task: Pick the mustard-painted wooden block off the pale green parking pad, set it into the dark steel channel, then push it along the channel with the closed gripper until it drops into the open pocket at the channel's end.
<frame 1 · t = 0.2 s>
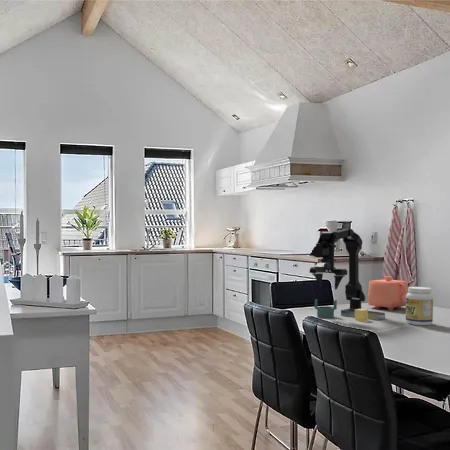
hand: (327, 288, 296), 14 cm above the table, fingers open, 9 cm apart
bracket: (325, 318, 297), on the table
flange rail: (364, 318, 297), on the table
supplement tub: (419, 324, 283), on the table
parking pad: (361, 321, 287), on the table
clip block: (361, 320, 287), point 1 cm above the table, touching parking pad
teapot: (391, 308, 338), on the table
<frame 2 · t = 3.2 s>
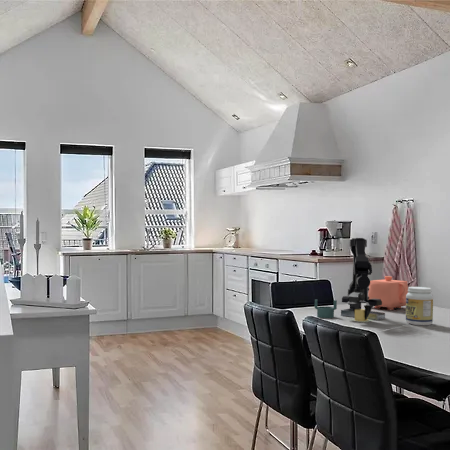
hand: (361, 318, 287), 1 cm above the table, fingers closed on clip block, 4 cm apart
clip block: (361, 320, 287), point 1 cm above the table, touching gripper, parking pad
everything else where it was.
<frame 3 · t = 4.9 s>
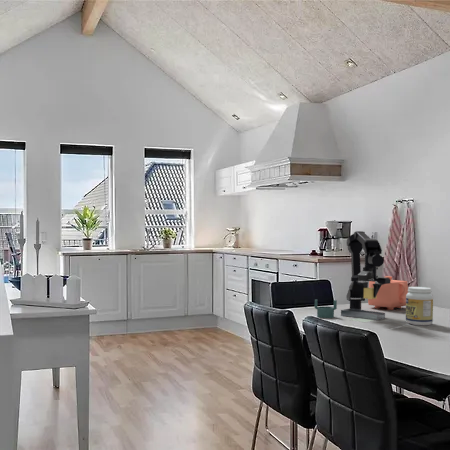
hand: (370, 297, 295), 11 cm above the table, fingers closed on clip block, 4 cm apart
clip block: (370, 298, 295), point 10 cm above the table, touching gripper
everything else where it was.
when the fingers open (4 cm above the table, at t = 6.8 s): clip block drops 1 cm, resting on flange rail.
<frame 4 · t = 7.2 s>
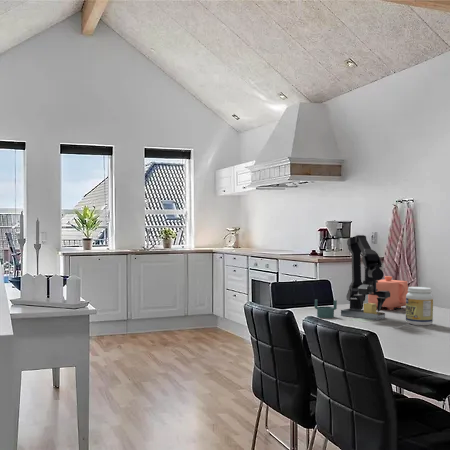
hand: (370, 310, 295), 4 cm above the table, fingers open, 9 cm apart
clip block: (369, 313, 295), point 2 cm above the table, touching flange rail
everything else where it was.
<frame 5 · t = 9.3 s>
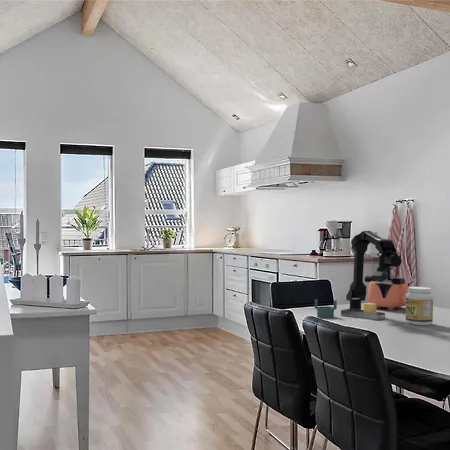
hand: (384, 298, 290), 11 cm above the table, fingers closed
nothing on the table moved.
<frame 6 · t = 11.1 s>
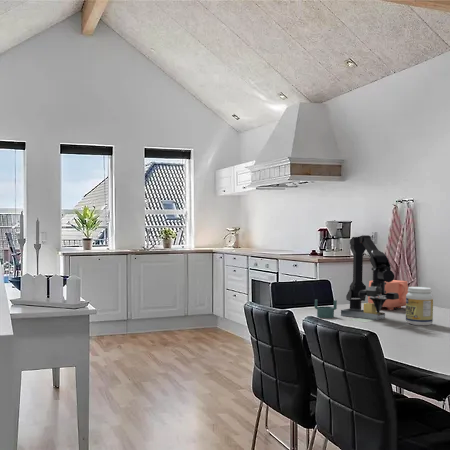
hand: (378, 312, 292), 4 cm above the table, fingers closed
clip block: (369, 313, 295), point 3 cm above the table, touching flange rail, gripper
everything else where it was.
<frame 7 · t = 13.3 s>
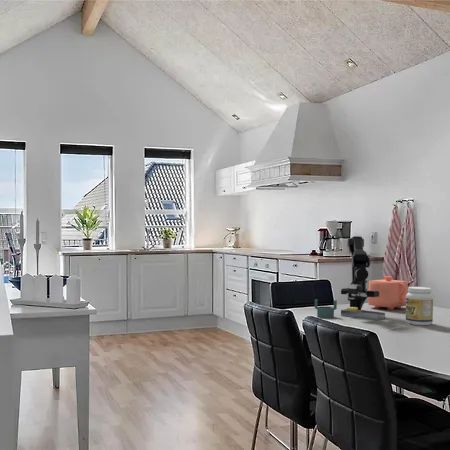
hand: (359, 309, 299), 4 cm above the table, fingers closed
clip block: (358, 312, 299), point 2 cm above the table, tilted 90°, touching gripper
everything else where it was.
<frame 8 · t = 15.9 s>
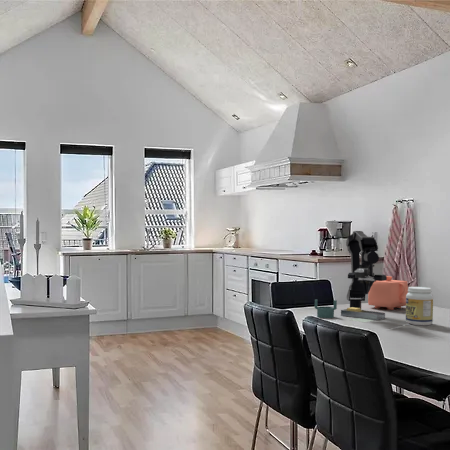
hand: (366, 294, 296), 12 cm above the table, fingers closed
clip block: (358, 313, 299), point 2 cm above the table, tilted 90°
everything else where it was.
at the end: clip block inside the target area (3.5 cm from its centre), point 2.1 cm above the table; the gripper is holding nothing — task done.
